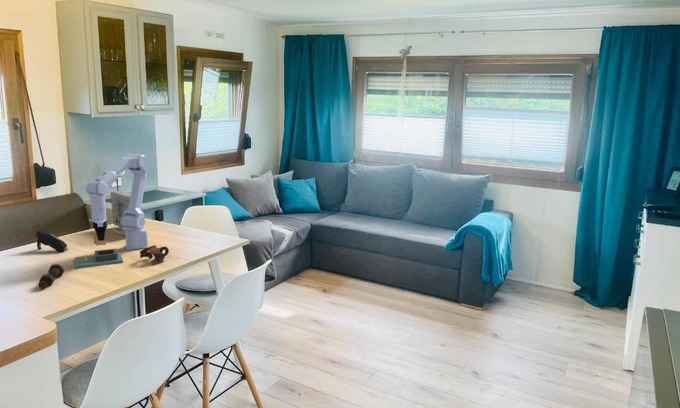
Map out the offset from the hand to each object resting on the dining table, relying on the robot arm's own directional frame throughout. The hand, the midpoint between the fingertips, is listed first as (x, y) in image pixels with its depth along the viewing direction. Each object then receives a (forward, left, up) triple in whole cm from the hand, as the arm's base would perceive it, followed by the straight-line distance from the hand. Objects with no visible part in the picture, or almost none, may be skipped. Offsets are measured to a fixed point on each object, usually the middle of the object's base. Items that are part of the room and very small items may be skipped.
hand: (101, 239), depth 221 cm
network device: (-14, -44, -9) cm, 47 cm away
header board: (+2, +2, -9) cm, 9 cm away
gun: (+20, -23, -9) cm, 31 cm away
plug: (0, 0, -2) cm, 2 cm away
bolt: (+20, +22, -10) cm, 31 cm away
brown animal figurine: (-20, +13, -9) cm, 26 cm away
